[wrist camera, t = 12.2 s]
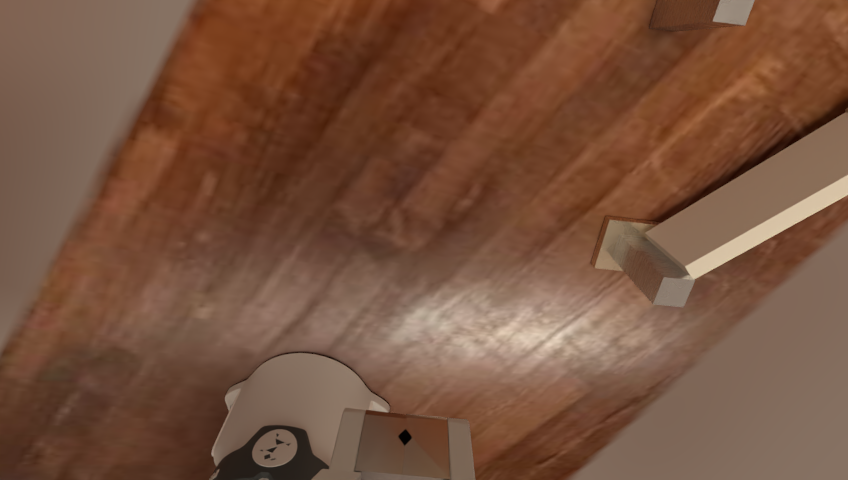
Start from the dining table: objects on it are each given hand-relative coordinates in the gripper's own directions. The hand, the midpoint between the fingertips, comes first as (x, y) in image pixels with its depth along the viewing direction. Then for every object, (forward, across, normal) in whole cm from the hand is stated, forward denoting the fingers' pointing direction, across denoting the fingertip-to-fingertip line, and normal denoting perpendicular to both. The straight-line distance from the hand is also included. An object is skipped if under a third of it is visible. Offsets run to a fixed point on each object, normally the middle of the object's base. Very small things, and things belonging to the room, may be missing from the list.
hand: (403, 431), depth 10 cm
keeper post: (+29, +17, +14) cm, 36 cm away
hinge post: (+29, +20, -6) cm, 36 cm away
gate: (+28, +28, +2) cm, 39 cm away
